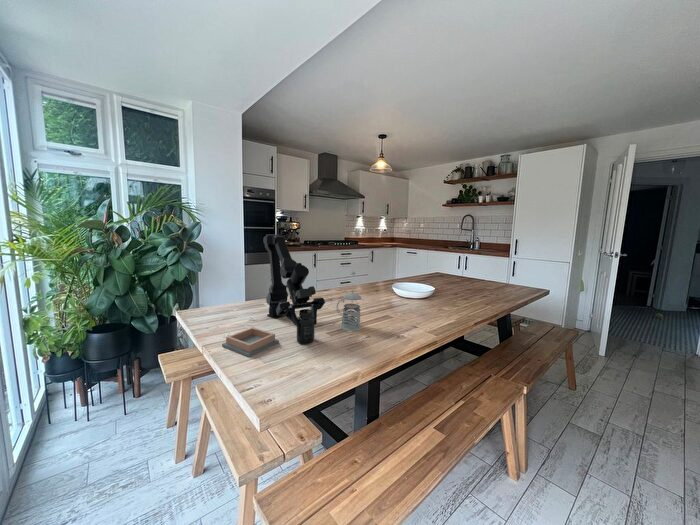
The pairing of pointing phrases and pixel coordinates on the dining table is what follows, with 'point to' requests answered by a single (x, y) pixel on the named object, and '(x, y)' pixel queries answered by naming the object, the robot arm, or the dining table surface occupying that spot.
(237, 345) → the dock
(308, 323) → the supplement bottle
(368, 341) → the dining table surface
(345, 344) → the dining table surface
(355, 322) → the french press
